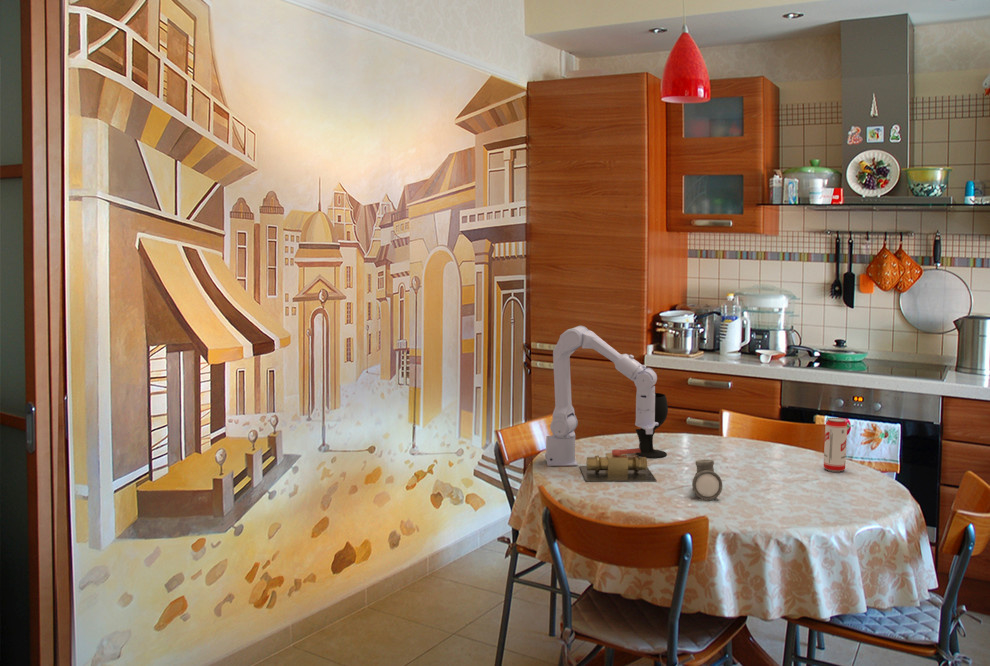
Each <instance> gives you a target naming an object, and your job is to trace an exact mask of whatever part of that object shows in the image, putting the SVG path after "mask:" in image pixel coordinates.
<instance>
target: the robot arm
mask: <svg viewBox="0 0 990 666" xmlns="http://www.w3.org/2000/svg"><path fill="white" fill-rule="evenodd" d="M580 348H581V349H592V350H594V351H595V352H598V353H599V354H600V355H602V356H603V357H605V358H606V359H608V360H610V361H611V362H612V363H613V364H614V367H615V370H617V371H618V372H620V374H622V375H623V376H625V377H626V378H628V379H629V380H631V381H632V382H634V385H635V388H636V396H635V422H634V425H635V426H636V427H638V428H635V433H636V435H637V437H638V440H639V441H638V442H639V443H640V450H641V452H642V453H648V452H649V449H650V442H651V439H652V437H654V435H655V432H656V429H655V430H654V429H653V428H654V427H655V426H658V425H659V423H658V422H655V393H656V386H655V385H656V383H657V380H658V375H657V373H656V372H655V370H653V368H651V367H647V365H646V364H641V363H640V362H639V361H638V360H636V359H635V358H634V357H635V356H634V355H633V354H628V353H622V354H621V353H620V352H618V351H617V350H616V349H615V348H614V347H612V346H611V345H609V344H608V343H607V342H606V341H605V340H603V339H602V338H601V337H600V336H598V334H596V333H595V332H594V331H592V330H591V329H588V328H587V327H586V326H584V325H578V326H575V327H573V328H569V329H566V330H565V331H564V332H563V333H561V334H560V335H559V339H558V341H557V343H556V344H555V346H554V348H553V351H552V359H553V362H552V363H553V380H554V401H555V403H554V408H553V412H552V420H551V422H550V424H549V429H550V431H551V433H552V435H546V438H545V453H544V454H545V455H544V457H545V462H546V465H547V466H548V467H552V466H553V467H555V466H557V467H561V466H563V467H565V466H566V467H567V466H569V467H572V466H574V467H575V466H577V467H578V461H577V460H576V433H575V430H576V428H577V427H578V422H579V421H578V419H577V415H575V414H576V413H575V408H574V406H573V403H572V401H573V400H572V380H571V378H572V377H571V359H570V357H571V356H572V355H573V354H574V352H575V351H577V350H578V349H580ZM639 443H638V444H639Z"/></svg>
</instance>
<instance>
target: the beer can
mask: <svg viewBox="0 0 990 666" xmlns="http://www.w3.org/2000/svg"><path fill="white" fill-rule="evenodd" d="M824 428H825V429H824V450H823V451H824V452H823V468H824V469H825V470H826V471H827V470H828V471H827V472H831V471H832V473H841V472H840V471H842V472H843V471H844V470H846V464H847V463H846V462H847V461H846V460H847V459H846V457H847V437H848V436H847V435H848V424H847V422H846V419H844V418H840V417H829V418H827V421H826V422H825V427H824Z"/></svg>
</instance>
